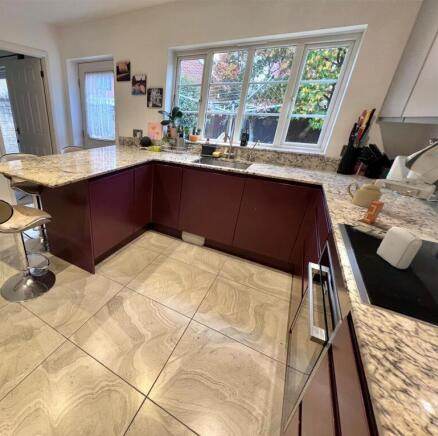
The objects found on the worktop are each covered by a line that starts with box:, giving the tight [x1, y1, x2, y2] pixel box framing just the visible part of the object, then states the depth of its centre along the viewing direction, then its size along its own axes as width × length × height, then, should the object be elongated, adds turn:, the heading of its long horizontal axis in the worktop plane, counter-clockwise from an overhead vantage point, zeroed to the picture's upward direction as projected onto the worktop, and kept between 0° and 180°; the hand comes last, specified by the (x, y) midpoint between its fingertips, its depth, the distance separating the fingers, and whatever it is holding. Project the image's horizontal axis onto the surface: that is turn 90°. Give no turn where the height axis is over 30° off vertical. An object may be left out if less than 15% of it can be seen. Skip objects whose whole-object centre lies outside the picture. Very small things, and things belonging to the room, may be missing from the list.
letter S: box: [362, 200, 385, 224], centre depth 109 cm, size 3×5×10 cm, turn 116°
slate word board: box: [350, 224, 387, 241], centre depth 99 cm, size 18×8×2 cm, turn 26°
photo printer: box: [376, 226, 423, 270], centre depth 80 cm, size 10×4×12 cm, turn 169°
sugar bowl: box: [347, 179, 383, 208], centre depth 134 cm, size 15×11×15 cm
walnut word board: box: [356, 218, 393, 232], centre depth 106 cm, size 18×8×2 cm, turn 26°
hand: (395, 189), depth 110 cm, fingers open, 8 cm apart
